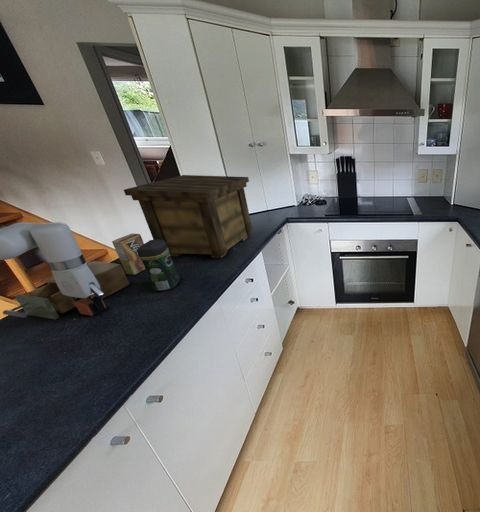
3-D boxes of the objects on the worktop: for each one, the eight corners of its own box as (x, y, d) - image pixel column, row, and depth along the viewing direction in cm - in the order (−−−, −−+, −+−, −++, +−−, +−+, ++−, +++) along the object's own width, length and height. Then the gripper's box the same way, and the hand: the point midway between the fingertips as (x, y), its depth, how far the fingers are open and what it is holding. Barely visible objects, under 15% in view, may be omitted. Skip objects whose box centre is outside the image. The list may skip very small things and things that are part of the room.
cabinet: (87, 306, 95) (75, 284, 91) (58, 301, 97) (45, 279, 93) (129, 284, 108) (120, 264, 104) (103, 280, 110) (93, 260, 106)
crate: (225, 262, 126) (206, 192, 111) (151, 260, 126) (123, 189, 112) (259, 234, 157) (248, 177, 142) (200, 232, 158) (183, 175, 143)
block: (91, 315, 90) (85, 304, 88) (80, 313, 90) (74, 302, 88) (106, 307, 94) (100, 296, 92) (95, 305, 94) (89, 295, 92)
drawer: (35, 329, 83) (21, 310, 80) (6, 324, 85) (-9, 305, 81) (101, 295, 99) (92, 278, 96) (75, 292, 101) (66, 275, 98)
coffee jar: (160, 280, 111) (144, 238, 103) (183, 278, 113) (168, 236, 105) (149, 293, 103) (130, 249, 94) (173, 290, 105) (156, 247, 96)
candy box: (144, 264, 122) (131, 233, 116) (153, 265, 122) (140, 233, 115) (125, 274, 114) (110, 241, 108) (135, 275, 114) (120, 241, 107)
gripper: (29, 264, 82) (59, 313, 90) (75, 271, 79) (101, 320, 87) (60, 254, 88) (85, 300, 96) (103, 260, 86) (125, 307, 94)
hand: (93, 309), depth 92 cm, fingers closed on block, 4 cm apart
